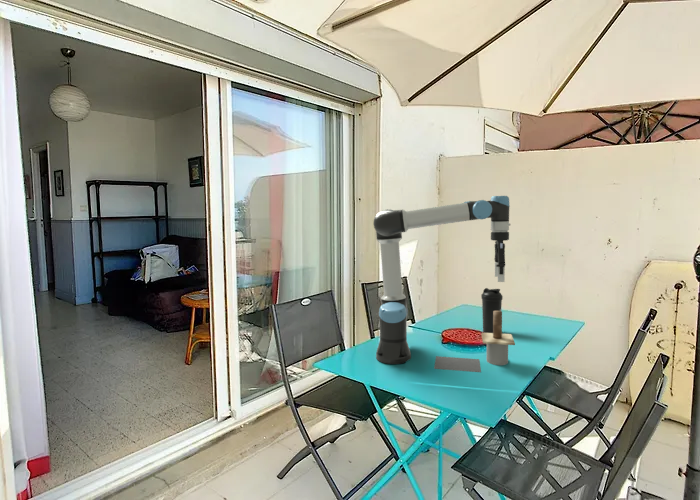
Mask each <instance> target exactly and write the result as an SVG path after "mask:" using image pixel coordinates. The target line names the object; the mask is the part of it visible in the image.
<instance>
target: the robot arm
mask: <svg viewBox="0 0 700 500" xmlns="http://www.w3.org/2000/svg"><path fill="white" fill-rule="evenodd" d="M510 207H511V206H510V197H509V196H508V195H493V196H491V197H490V200H484V199H481V200H469V201H464V202H461V203H454V204H448V205H441V206H433V207H427V208H421V209H420V208H419V209H415V210H414V209H413V210H407V211H406V210H405V209H395V210H393V209H383V210H380V211H379V212H377V213H376V215H375V216H374V218H373V228H374V230H375V235H376V241H377V242H379V245H380V256H381V257H380V259H381V270H382V271H381V272H382V273H381V274H382V284H383V294H382V296H381V297H380V302H381V305H380V307H379V309H378V316H379V343H378V345H377V348H376V355H375V358H376V360H377V362H380V363H382V364H386V365H387V364H388V365H401V364H404V363H405V364H406V362H409V361H410V360H411V359H412V351H411V350H410V347H409V344H408V343H409V342H408V340H407V338H408V337H407V321H408V315H409V314H408V313H409V311H408V306H407V295H405V294H404V292H403V283H402V269H401V268H402V267H401V256H400V255H401V254H400V251H401V250H400V241H401V240H402V239H403V235H402V233H407V231H409V230H412V229H417V228H418V229H421V228H426V227H431V226H432V227H433V226H439V225H446V224H454V223H460V222H461V223H462V222H467V221H468V222H469V221H475V220H476V221H477V220H486V219H490V240H491V241H494V243H495V244H494V259H493V260H494V278H495V277H497V283H505V275H506V274H505V270H506V269H505V267H506V254H505V252H506V250H505V249H506V243H504V242H505V241H508V240H510V232H509V231H510V226H511V223H510Z"/></svg>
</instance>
